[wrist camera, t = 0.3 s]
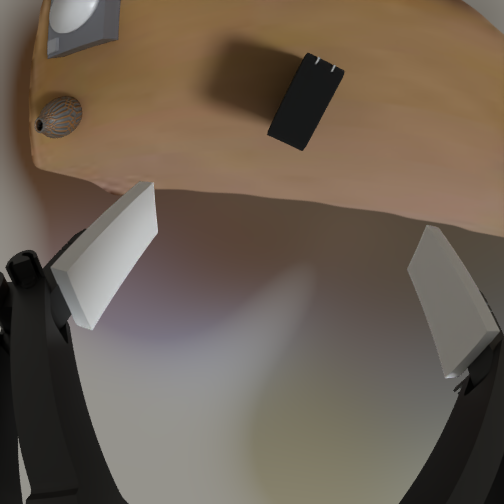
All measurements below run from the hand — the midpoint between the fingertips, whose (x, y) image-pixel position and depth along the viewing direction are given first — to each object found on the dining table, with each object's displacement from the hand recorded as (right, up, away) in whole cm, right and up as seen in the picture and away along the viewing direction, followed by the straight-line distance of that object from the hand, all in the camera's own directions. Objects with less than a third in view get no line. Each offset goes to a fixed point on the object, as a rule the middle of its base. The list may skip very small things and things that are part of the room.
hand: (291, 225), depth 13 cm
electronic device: (+5, +19, +20) cm, 28 cm away
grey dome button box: (-27, +37, +12) cm, 48 cm away
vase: (-32, +23, +24) cm, 46 cm away
